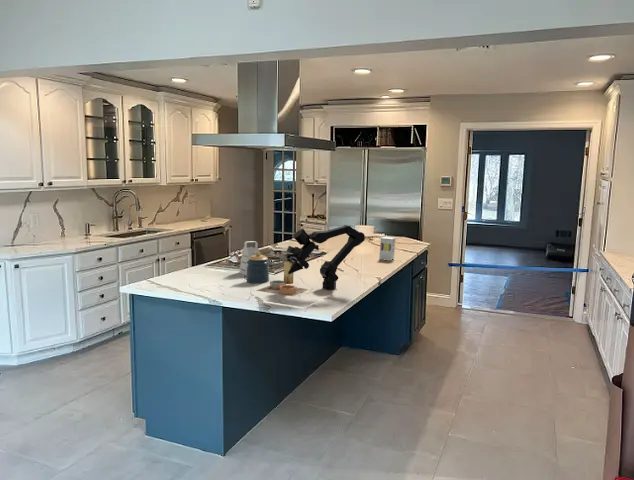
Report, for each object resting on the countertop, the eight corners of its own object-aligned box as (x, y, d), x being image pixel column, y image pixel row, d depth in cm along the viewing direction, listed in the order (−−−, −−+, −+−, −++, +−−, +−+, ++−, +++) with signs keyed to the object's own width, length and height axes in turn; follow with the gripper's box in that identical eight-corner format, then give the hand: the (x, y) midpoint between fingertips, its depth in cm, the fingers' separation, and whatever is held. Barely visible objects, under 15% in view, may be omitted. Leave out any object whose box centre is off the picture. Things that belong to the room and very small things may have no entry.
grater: (261, 274, 318) (262, 242, 315) (245, 275, 312) (246, 243, 310) (254, 271, 327) (255, 240, 324) (239, 272, 321) (239, 240, 318)
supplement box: (378, 260, 384) (380, 237, 382) (382, 258, 393) (383, 236, 390) (391, 261, 381) (392, 238, 378) (394, 259, 389) (395, 237, 387)
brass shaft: (293, 282, 272) (293, 261, 270) (293, 284, 267) (293, 263, 265) (283, 281, 272) (284, 261, 270) (283, 283, 267) (283, 263, 265)
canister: (242, 281, 296) (242, 251, 294) (261, 279, 304) (262, 249, 302) (253, 285, 286) (254, 254, 284) (273, 283, 294) (274, 253, 292)
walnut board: (308, 291, 279) (308, 289, 279) (293, 298, 263) (293, 296, 262) (273, 285, 288) (273, 284, 288) (256, 292, 272) (256, 290, 272)
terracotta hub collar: (298, 291, 272) (298, 286, 271) (291, 295, 265) (291, 289, 264) (284, 289, 275) (285, 284, 275) (277, 292, 268) (277, 287, 268)
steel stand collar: (288, 286, 282) (288, 281, 282) (280, 289, 275) (281, 284, 275) (275, 285, 286) (275, 279, 285) (267, 287, 278) (267, 282, 278)
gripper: (288, 238, 276) (269, 259, 273) (304, 243, 260) (283, 265, 256) (301, 251, 281) (282, 273, 277) (317, 257, 265) (297, 280, 261)
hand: (286, 272), depth 268 cm, fingers closed on brass shaft, 5 cm apart
